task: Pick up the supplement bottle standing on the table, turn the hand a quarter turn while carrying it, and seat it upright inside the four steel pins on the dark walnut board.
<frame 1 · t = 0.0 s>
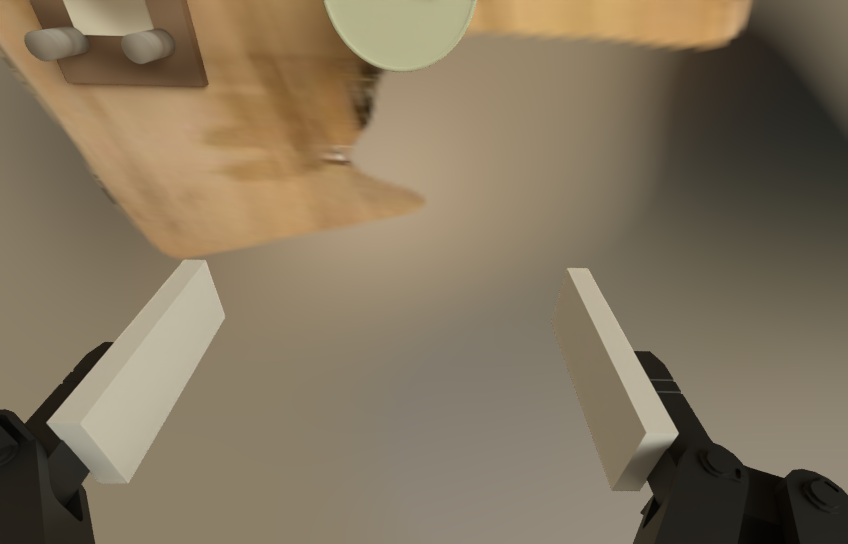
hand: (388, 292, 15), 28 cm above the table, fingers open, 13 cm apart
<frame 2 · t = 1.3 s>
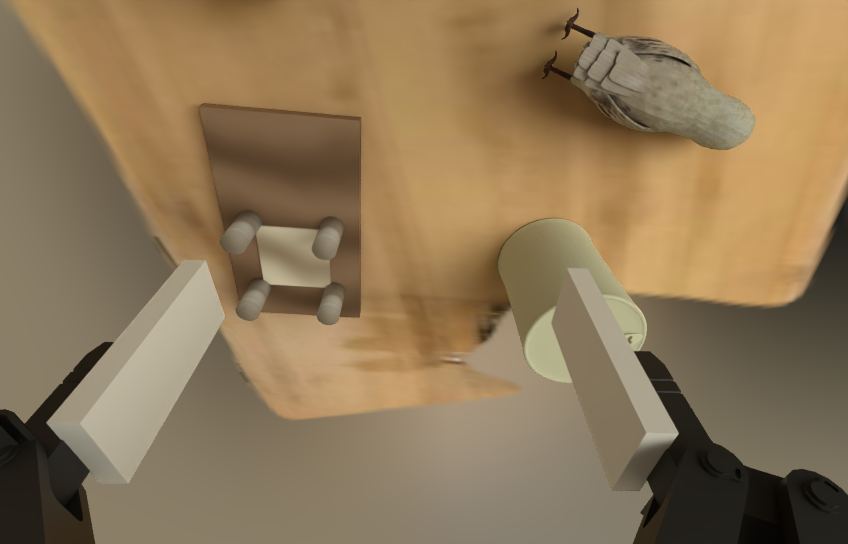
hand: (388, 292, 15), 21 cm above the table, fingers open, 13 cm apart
can: (544, 258, 40), on the table
pin nest: (294, 224, 37), on the table
decorative bird: (634, 83, 31), on the table
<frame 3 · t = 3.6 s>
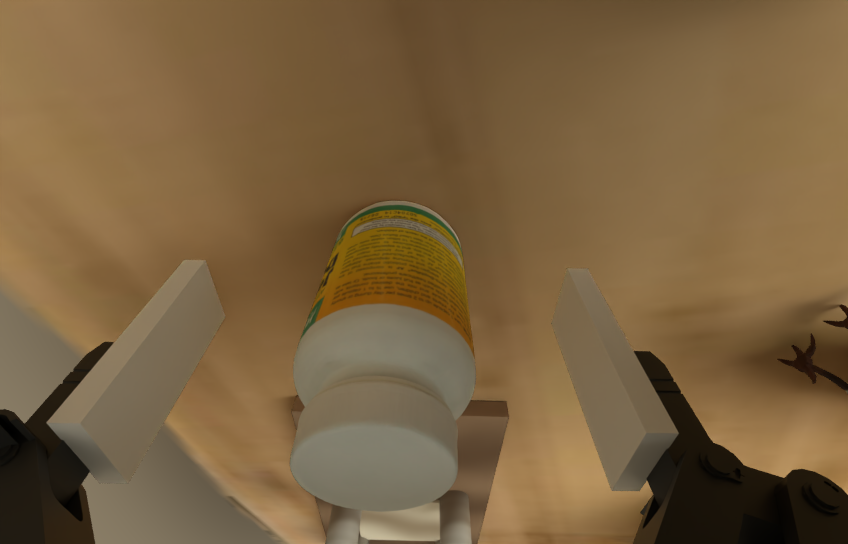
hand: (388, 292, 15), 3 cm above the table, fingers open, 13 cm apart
pin nest: (402, 485, 29), on the table
supplement bottle: (399, 250, 18), on the table
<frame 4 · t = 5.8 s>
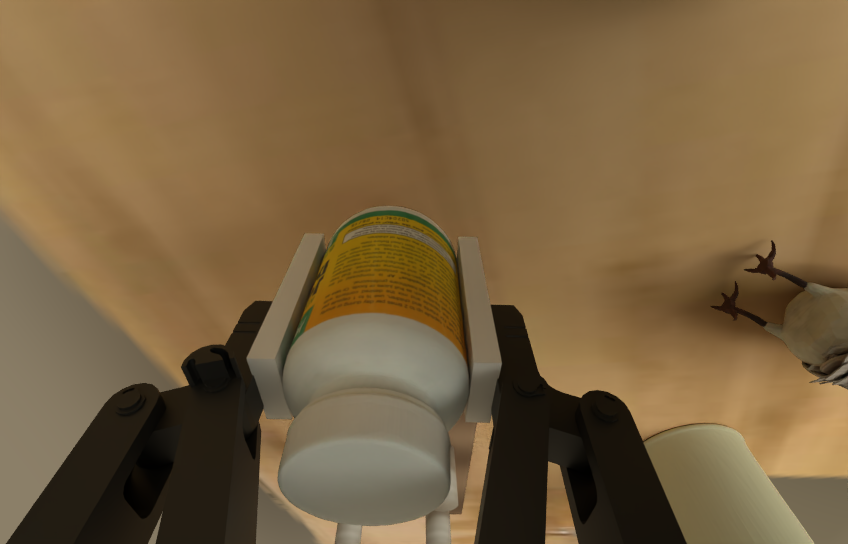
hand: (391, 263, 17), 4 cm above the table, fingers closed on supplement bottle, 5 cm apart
can: (681, 453, 34), on the table
pin nest: (394, 442, 32), on the table
supplement bottle: (392, 255, 17), point 4 cm above the table, touching gripper
decorative bird: (829, 295, 24), on the table
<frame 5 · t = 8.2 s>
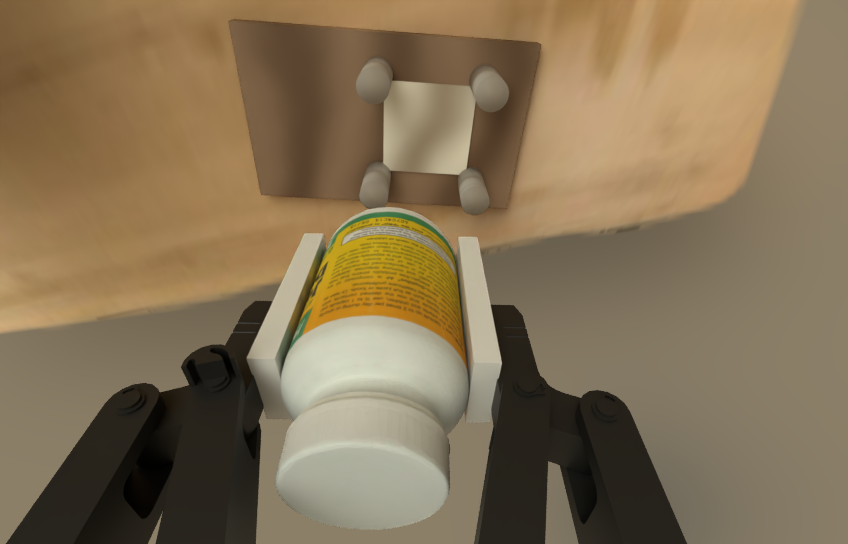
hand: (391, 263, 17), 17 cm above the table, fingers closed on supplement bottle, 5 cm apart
pin nest: (387, 123, 31), on the table
supplement bottle: (392, 256, 17), point 17 cm above the table, touching gripper
when the fingers open (2 cm above the table, at t = 11.1 s): supplement bottle stays where it is, resting on pin nest.
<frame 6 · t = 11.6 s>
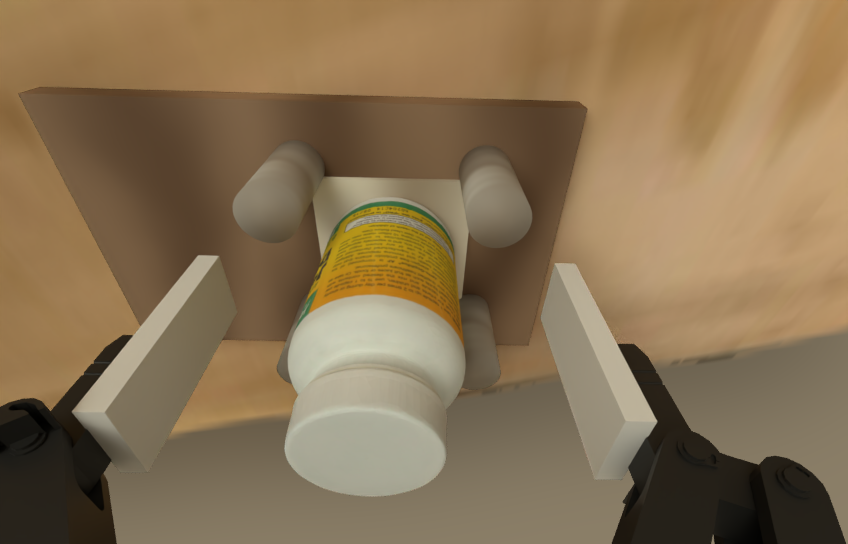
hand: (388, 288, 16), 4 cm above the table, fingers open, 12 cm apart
pin nest: (329, 233, 19), on the table
supplement bottle: (392, 246, 18), point 1 cm above the table, touching pin nest
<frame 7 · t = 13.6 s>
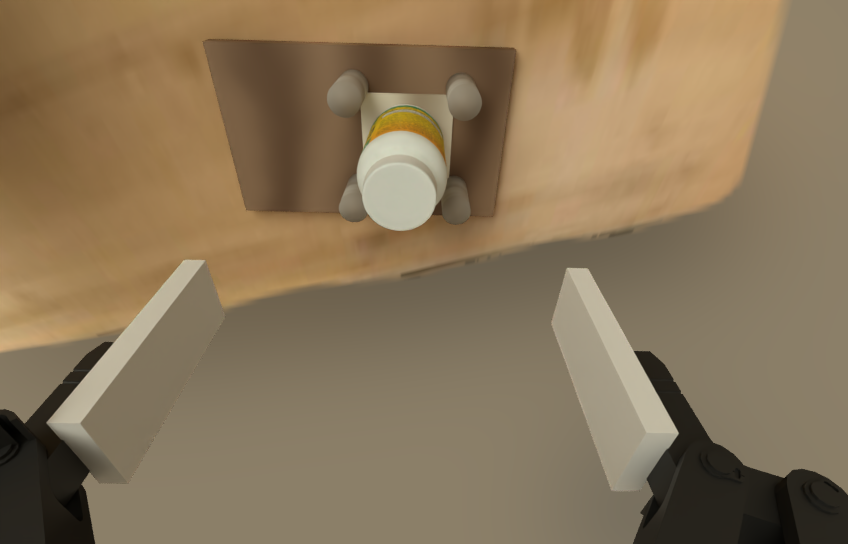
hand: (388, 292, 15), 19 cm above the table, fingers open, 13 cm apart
pin nest: (367, 135, 30), on the table
supplement bottle: (406, 140, 30), point 1 cm above the table, touching pin nest
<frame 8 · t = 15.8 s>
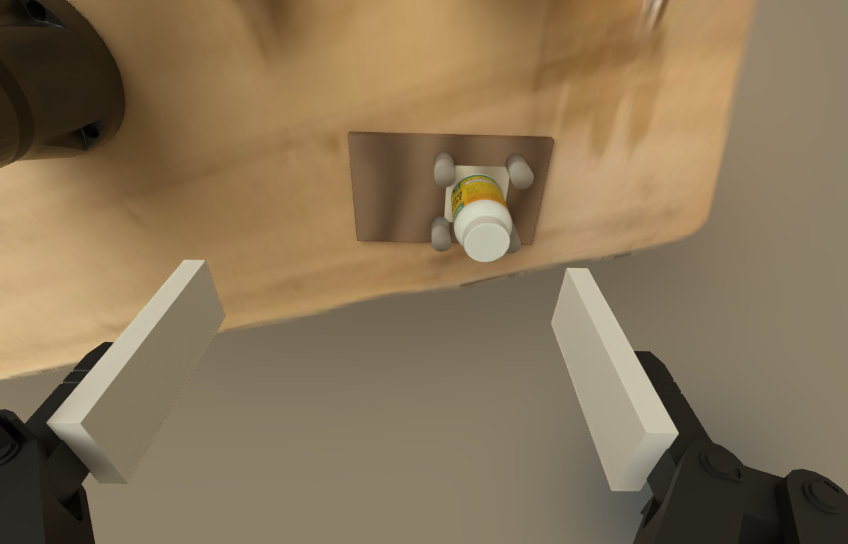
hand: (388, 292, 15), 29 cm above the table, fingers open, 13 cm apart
pin nest: (447, 190, 44), on the table
supplement bottle: (475, 194, 43), point 1 cm above the table, touching pin nest
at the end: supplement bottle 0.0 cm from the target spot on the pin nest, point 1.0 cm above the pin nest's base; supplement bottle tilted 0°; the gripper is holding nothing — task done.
